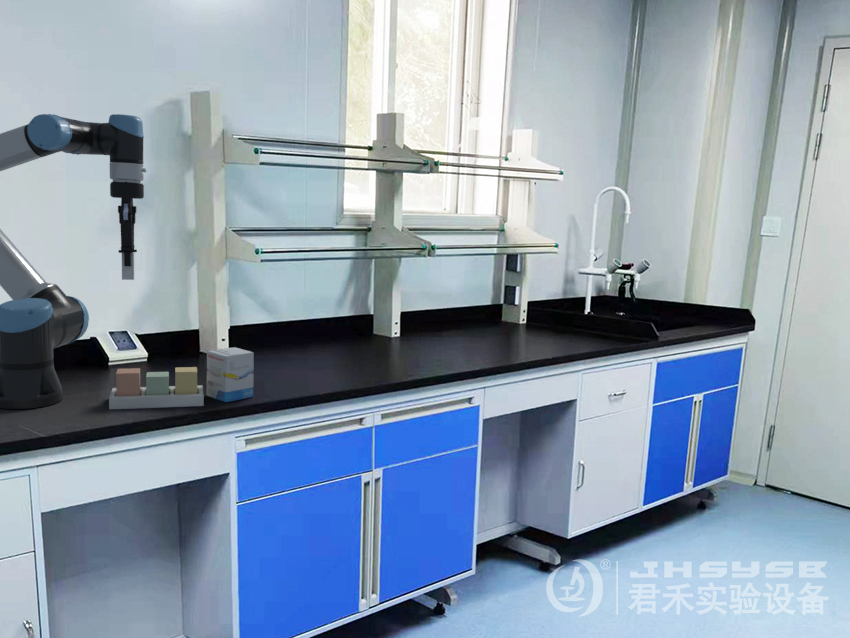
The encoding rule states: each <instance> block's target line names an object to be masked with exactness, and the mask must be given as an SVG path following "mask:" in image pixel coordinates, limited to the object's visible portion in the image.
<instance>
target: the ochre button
mask: <svg viewBox="0 0 850 638" xmlns="http://www.w3.org/2000/svg"><path fill="white" fill-rule="evenodd" d="M174 369H175V371H174V372H175V377H174V379H175V380H174V381H175V383H174V384H175V385H174V386H175V394H197V386H198V366H192V367H191V366H189V367H187V366H186V367H183V366H182V367H181V366H180V367H175V368H174Z"/></svg>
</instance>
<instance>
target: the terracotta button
mask: <svg viewBox="0 0 850 638" xmlns="http://www.w3.org/2000/svg"><path fill="white" fill-rule="evenodd" d="M115 378H116V379H115V388H116V395H117V396H140V387H141V368H139V367H138V368H137V367H136V368H117V370H116V372H115Z"/></svg>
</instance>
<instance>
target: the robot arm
mask: <svg viewBox="0 0 850 638" xmlns="http://www.w3.org/2000/svg"><path fill="white" fill-rule="evenodd" d="M143 125H144V124H143V120H142V118H140V117H139V116H136V115H129V114H120V113H119V114H115V113H114V114H110V115H109V117H108V122H92V121H91V122H90V121H84V120H83V121H82V120H77V119H74V118H73V119H72V118H69V117H62V116H60V115H57V114H51V113H49V114H46V113H43V114H42V113H41V114H38V115H36V116H34V117H33V118H32V119H31V120H30V121H29V123H27V124H25V125H22V126H19V127H15V128H13V129H9V130H6V131H5V132H1V133H0V172H3V171H6V170H8V169H11V168H14V167H17V166H20V165H23V164H26V163H29V162H31V161H36V160H38V159H42V158H44V157H47V156H50V155H53V154H56V153H60V152H63V153H65V154H72V155H78V156H79V155H91V156H95V155H100V156H109V179H111V180H112V181H111V182H110V183H109V194H110V197H111V198H116V199H118V198H119V199H120V205H117V213H118V215H119V216H118V219H119V220H118V221H119V225H120V246H121V247H120V249H118V254H121V280H124V281H126V280H127V281H134V280H135V253H137V252H138V251H137V249H135V224H136V214H137V206H136V205H134V199H135V200H136V199H139V200H141V199H144V197H145V196H144V195H145V184H143V183H141V182H142V181H144V173H147V169H146V168H145V167H144V138H145V136H144V126H143ZM143 167H144V168H143ZM0 287H1V288H2V289H3V290H4V291H5V293H7V295H8V296H9V297H10V299H11V300H8V301H5V302H3V303H1V304H0V409H5V410H6V409H7V410H26V409H34V408H35V409H36V408H41V407H48V406H51V405H54V404H57V403H59V402H61V401H62V400H63V399H64V396H63V395H64V394H63V393H64V392H63V387H62V384H61V382H60V379H59V377H58V375H57V374H58V373H57V372H56V370H55V365H54V364H55V363H54V349H56V348H60V347H62V346H65V345H66V346H67V345H70V344H72V343H74V342H75V341H77V340H79V339H80V338H82V337H83V336H84V334H85V333H86V331H87V329H88V327H89V323H90V322H89V321H90V317H89V311H88V309H87V307H86V305H85V303H84V302H82V301H81V300H80V299H78V298H76V297H74V296H70V295H66V294H65V292H64V291H63V290H62V289H61V287H60V286H59V285H58V284H56V283H48V282H47V281H46V280H45V279H44V278H43V276H41V274H40V273H39V272H38V271H37V270H36V268H34V266H33V265H32V264H31V263H30V261H28V259H27V258H26V257H25V256H24V255H23V253H22V252H21V251H20V250H19V249H18V248H17V247H16V245H14V243H13V242H12V241H11V240H10V238H9V237H8V236H7V235H6V234H5V233H4V231H3V230H2V229H1V228H0Z"/></svg>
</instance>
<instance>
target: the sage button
mask: <svg viewBox="0 0 850 638" xmlns="http://www.w3.org/2000/svg"><path fill="white" fill-rule="evenodd" d="M169 386H170V372H169V371H147V372H146V375H145V387H146V395H169Z"/></svg>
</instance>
